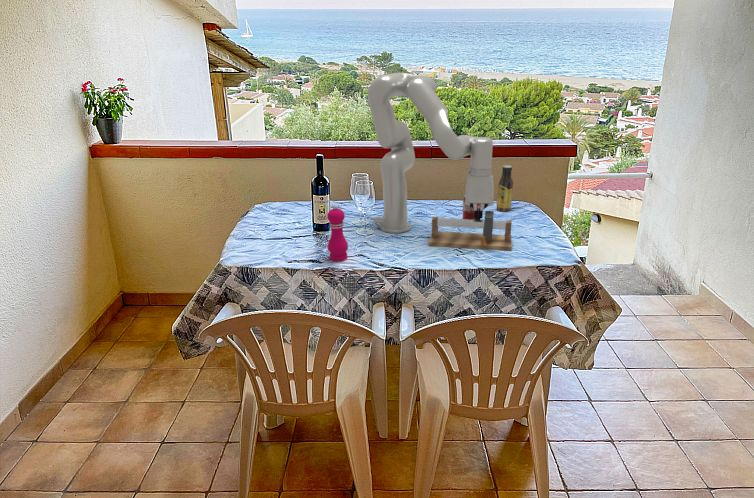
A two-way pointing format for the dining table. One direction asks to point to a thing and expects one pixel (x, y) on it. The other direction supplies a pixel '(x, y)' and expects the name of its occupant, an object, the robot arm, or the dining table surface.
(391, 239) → the dining table surface
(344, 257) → the pepper mill
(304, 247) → the dining table surface
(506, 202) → the sauce bottle
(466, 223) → the white long bar
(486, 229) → the collar
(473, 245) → the pipe stand
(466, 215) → the soda can
